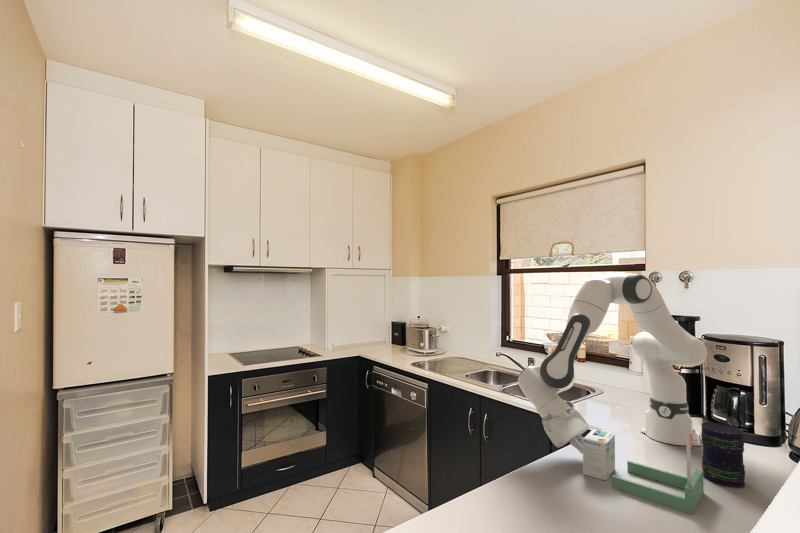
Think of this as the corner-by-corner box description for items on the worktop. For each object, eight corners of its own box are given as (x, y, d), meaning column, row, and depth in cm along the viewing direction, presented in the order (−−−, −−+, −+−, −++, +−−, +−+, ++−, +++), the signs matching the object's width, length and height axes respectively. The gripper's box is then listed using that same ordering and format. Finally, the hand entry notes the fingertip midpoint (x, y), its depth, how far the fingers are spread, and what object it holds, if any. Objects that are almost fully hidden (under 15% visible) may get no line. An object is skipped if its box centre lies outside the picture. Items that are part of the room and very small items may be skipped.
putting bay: (628, 470, 122) (627, 410, 123) (703, 493, 109) (701, 425, 110) (611, 487, 112) (610, 421, 113) (692, 514, 99) (690, 439, 100)
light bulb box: (592, 462, 127) (592, 428, 128) (616, 469, 123) (615, 433, 124) (582, 474, 119) (581, 437, 120) (607, 481, 115) (606, 443, 116)
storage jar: (744, 492, 110) (742, 436, 111) (699, 480, 117) (698, 427, 118) (746, 480, 117) (745, 428, 118) (704, 469, 124) (703, 420, 125)
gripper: (546, 413, 123) (579, 455, 116) (574, 401, 138) (604, 438, 130) (533, 424, 126) (563, 466, 119) (561, 411, 140) (590, 447, 133)
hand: (585, 451), depth 124 cm, fingers closed
